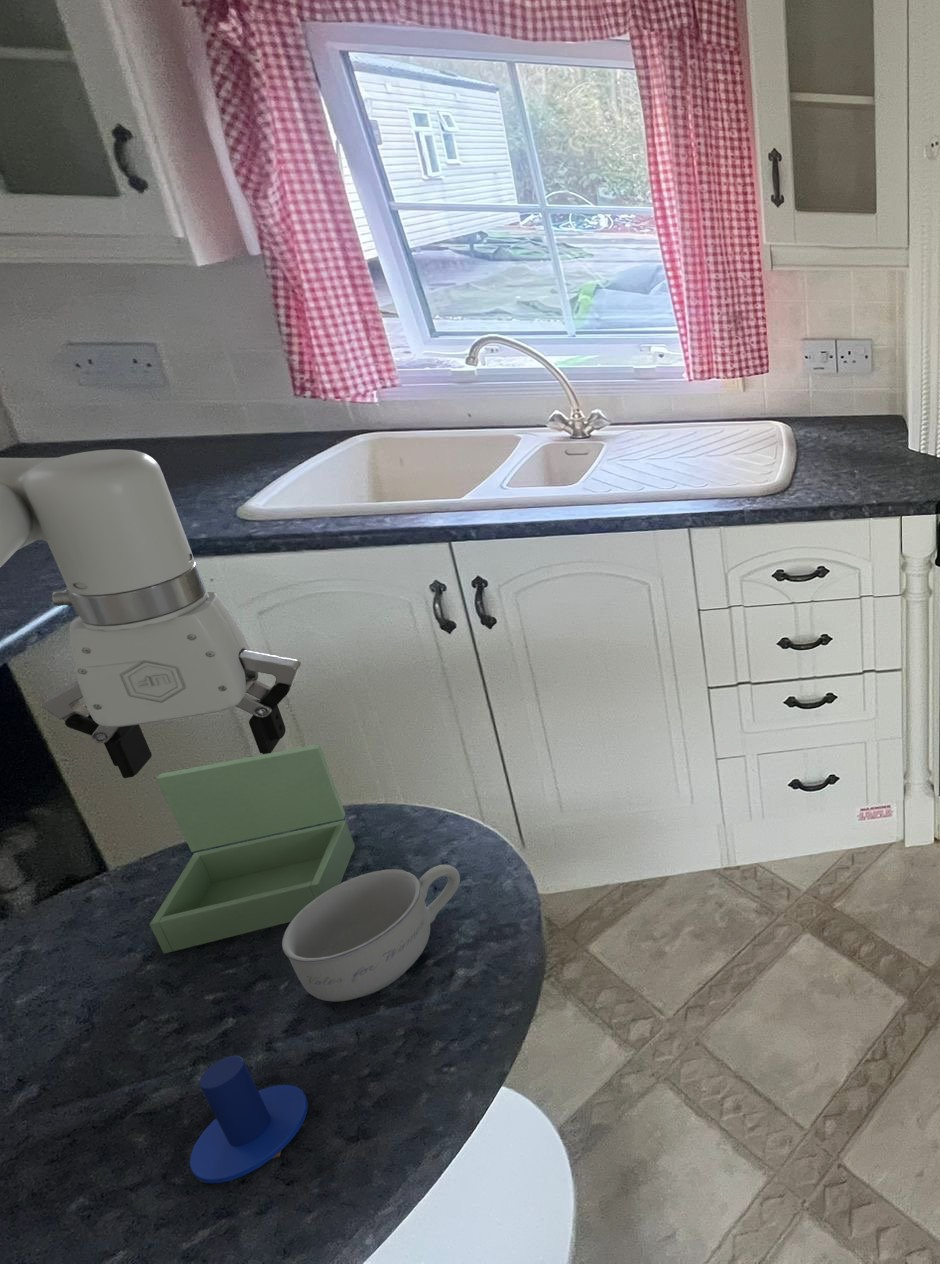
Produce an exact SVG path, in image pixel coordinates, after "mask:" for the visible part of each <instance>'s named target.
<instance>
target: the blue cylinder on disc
mask: <svg viewBox="0 0 940 1264" xmlns="http://www.w3.org/2000/svg"><path fill="white" fill-rule="evenodd" d="M198 1084H199V1087H200V1090H201V1092H202V1094H203V1095H204V1097H205V1099H206V1101H207V1103H208V1105H209V1107H210V1109H211V1111H212V1113H213V1114H214V1117H215V1118H214V1120H213V1121H212V1122H211V1123H209V1125H208V1126H207V1127H206V1128H205V1129H204V1130H203V1132H202V1133H201V1134H200V1136H199V1137H198V1139H197V1140H196V1142H195V1144H194V1145H193V1148H192V1151H191V1154H190V1157H189V1167H190V1170H191V1172H192V1174H193V1176H194V1177H195V1178H196V1179H197V1180H198V1181H199V1182H200V1181H202V1183H206V1184H221V1183H227V1182H230V1181H234V1180H237V1179H239V1178H242V1177H244V1176H246V1175H248V1174H250V1173H252V1172H255V1170H257V1169H259V1168H260V1167H262V1166H264V1165H265V1164H267V1163H268V1162H269V1161H270V1160H272V1158H273V1157H274V1156H276V1155H277V1154H278V1153H279V1152H280V1151H281V1150H283V1149H285V1148H286V1147H287V1145H289V1143H291V1141H292V1140H293V1138H295V1136H296V1135H297V1134H298V1132H299V1131H300V1129H301V1128H302V1126H303V1125H304V1122H305V1120H306V1117H307V1114H308V1108H309V1102H308V1098H307V1096H306V1094H305V1092H304V1090H302V1089H301V1088H300V1087H298V1086H295V1085H293V1084H277V1085H272V1086H268V1087H265V1088H262V1089H260V1090H258V1087H257V1086H256V1083H255V1081H254V1079H253V1077H252V1075H251V1072H250V1071H249V1069H248V1066H247V1064H246V1061H245V1060H244V1058H243V1057H242V1056H240V1055H230V1056H227V1057H224V1058H222V1059H220V1060H218V1061H217V1062H215V1063H214V1064H211V1066H209V1067H208V1068H207V1069H206V1070H205V1071H204V1072H203V1074H202V1075H201V1077H200V1079H199V1083H198ZM281 1152H282V1151H281ZM273 1159H274V1158H273Z"/></svg>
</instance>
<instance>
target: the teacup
mask: <svg viewBox="0 0 940 1264" xmlns="http://www.w3.org/2000/svg"><path fill="white" fill-rule="evenodd" d="M442 877H447V883H446V885H445V886H444V887H443V890H442V891H441V892H440V893H439V895H437V897H435V899H434V900H433V901H432V902H430V903H429V904H428V905H427V904H426V899H427V897H428V890H429V889H430V887H431V885H432V883H434V881H436V880H438V879H439V878H442ZM460 882H461V874H460V873H459V870H458V869H456V868H455V867H454V866H453V865H451V864H450V865H449V864H439V865H438V864H437V865H436V866H434V867H431V868H430V869H428V870H427V871H426V872H424V873H423V874H422V875H421V876H420V877H419V879H418V877H417V876H416V875H414V874H413V873H412V872H409V871H407V870H403V869H397V868H395V869H392V868H391V869H382V870H377V871H372V872H368V873H367V872H366V873H364V874H361V875H358V876H356V877H353V878H350V879H348V880H345V881H343V882H341V883H340V884H339V885H337V886H335V887H333V888H331V889H329V890H328V891H326V892H325V893H323V894H322V895H320V896H319V897H317V898H316V899H315V900H313V901H312V902H310V903H309V904H308V905H307V906H306V907H304V908H303V909H302V910H301V911H300V912H299V913H298V914H297V915H296V916H295V918H294V919H293V920H292V921H291V922H289V924H288V926H287V927H286V929H285V931H284V933H283V937H282V941H281V947H282V951H283V953H284V954H285V956H286V957H287V958H288V959H289V962H290V964H291V966H292V968H293V971H294V972H295V975H296V976H297V978H298V980H299V982H300V983H301V985H302V987H303V989H305V991H306V992H307V993H308V994H310V995H311V996H312V997H314V998H316V999H318V1000H321V1001H325V1002H346V1001H352V1000H354V999H358V998H362V997H366V996H369V995H372V994H374V993H376V992H378V991H380V990H382V989H384V988H386V987H388V986H390V985H391V984H392V983H394V982H395V981H397V980H398V979H399V978H401V976H403V975H404V974H405V973H406V972H407V970H409V969H410V968H411V967H412V966H413V965H414V964H415V963H416V961H418V959H419V958H420V956H421V955H422V954H423V952H424V950H425V948H426V947H427V944H428V942H429V939H430V935H431V924H432V923H433V922H434V921H435V920H436V917H437V916H438V913H439V912H440V911H441V910H442V909H443V908H444V907H445V906H446V905H447V904H448V903H449V901H451V899H452V898H453V897H454V895H455V894H456V892H457V891H458V889H459V886H460Z"/></svg>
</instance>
